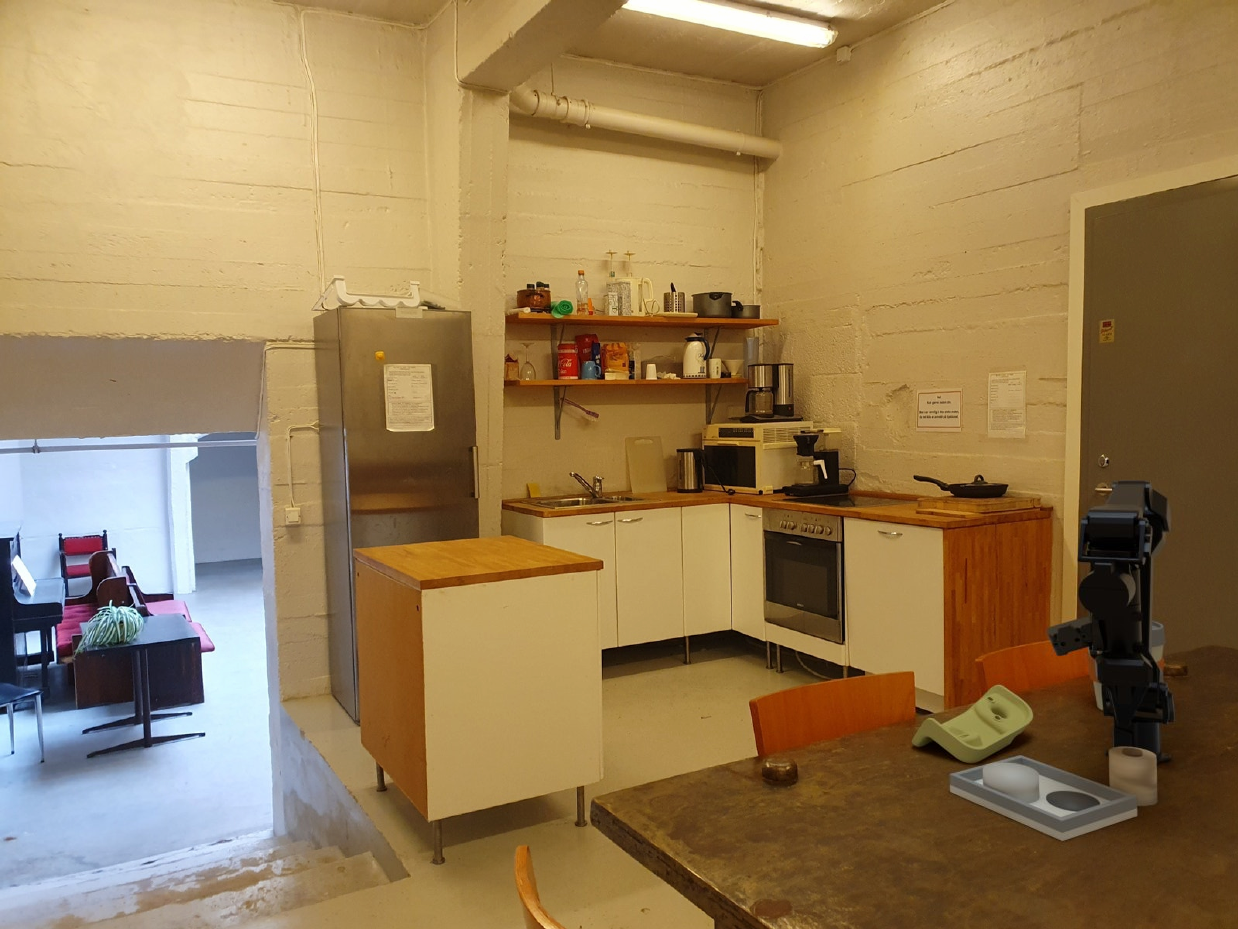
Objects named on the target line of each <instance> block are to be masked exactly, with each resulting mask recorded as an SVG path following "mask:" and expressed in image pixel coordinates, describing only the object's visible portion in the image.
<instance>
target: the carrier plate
mask: <svg viewBox="0 0 1238 929" xmlns="http://www.w3.org/2000/svg"><path fill="white" fill-rule="evenodd" d="M949 791H950V793H952V794H954V795H956V796H959V797H961V798H963V799H965V800H968V801H970V802H973V803H974V804H977V805H980V806H982V807H983V808H985V809H989V810H991V811H992V812H995V813H998V814H999V815H1002V816H1004V817H1007V818H1009V819H1012V820H1014V821H1016V822H1018V823H1020V824H1022V825H1025V826H1027V827H1030V828H1032V829H1034V830H1036V831H1038V832H1040V833H1043V834H1045V835H1048V836H1050V837H1053V838H1054V839H1057V840H1060V841H1061V842H1064V841H1066V840H1069V839H1073V838H1076V837H1078V836H1082V835H1084V834H1087V833H1090V832H1095V831H1096V830H1101V829H1102V828H1105V827H1108V826H1111V825H1115V824H1117V823H1120V822H1123V821H1127V820H1129V819H1132V818H1136V817H1138V806H1137V797H1136V796H1133V795H1131V794H1128V793H1125V792H1122V791H1119V790H1117V789H1114V788H1111V787H1110V786H1108V785H1106V784H1102V783H1100V782H1097V781H1094V780H1091V779H1088V778H1086V777H1083V776H1080V775H1078V774H1077V775H1076V774H1075V773H1072V772H1069V771H1066V770H1064V769H1061V768H1057V767H1055V766H1053V765H1049V764H1047V763H1044V762H1041V761H1039V760H1035V759H1032V758H1029V757H1027V756H1024V755H1021V754H1020V755H1016V756H1012V757H1008V758H1005V759H1001V760H998V761H994V762H991V763H990V762H989V763H987V764H983V765H979V766H974V767H971V768H968V769H967V768H966V769H965V770H964V769H963V770H961V771H957V772H952V773H949Z"/></svg>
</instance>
